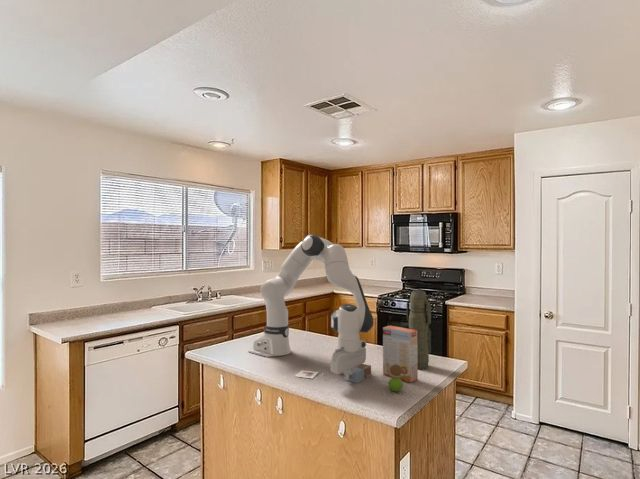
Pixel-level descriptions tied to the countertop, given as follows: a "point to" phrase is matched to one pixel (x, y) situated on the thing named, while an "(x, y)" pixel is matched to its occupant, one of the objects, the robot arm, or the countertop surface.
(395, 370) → the snail figurine
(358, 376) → the slate block
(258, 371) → the countertop surface
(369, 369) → the base block
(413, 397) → the countertop surface
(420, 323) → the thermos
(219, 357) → the countertop surface
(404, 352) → the cracker box
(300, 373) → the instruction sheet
